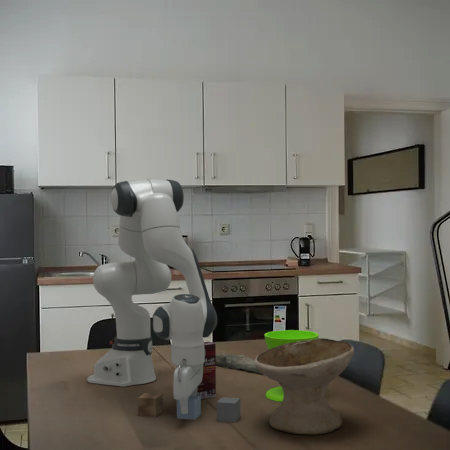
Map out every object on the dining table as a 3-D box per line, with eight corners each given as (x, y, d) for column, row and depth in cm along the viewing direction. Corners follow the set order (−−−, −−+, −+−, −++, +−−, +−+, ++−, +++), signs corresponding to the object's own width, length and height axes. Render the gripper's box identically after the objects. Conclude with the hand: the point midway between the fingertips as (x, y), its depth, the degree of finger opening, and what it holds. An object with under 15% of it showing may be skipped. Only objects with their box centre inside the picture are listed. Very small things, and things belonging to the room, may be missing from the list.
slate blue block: (177, 418, 176) (176, 399, 176) (183, 413, 181) (183, 395, 181) (195, 420, 175) (194, 400, 174) (200, 414, 179) (200, 396, 179)
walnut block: (138, 416, 179) (138, 397, 179) (145, 411, 184) (145, 392, 184) (155, 417, 178) (155, 398, 178) (162, 412, 182) (162, 393, 182)
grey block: (217, 421, 173) (216, 402, 173) (222, 416, 178) (222, 397, 178) (235, 422, 172) (235, 403, 171) (240, 417, 176) (240, 398, 176)
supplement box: (191, 401, 192) (190, 346, 192) (183, 397, 197) (182, 343, 197) (217, 397, 197) (216, 343, 197) (209, 393, 201) (208, 340, 201)
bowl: (258, 409, 183) (256, 336, 183) (350, 410, 181) (349, 336, 181) (252, 439, 158) (250, 355, 158) (360, 441, 155) (358, 355, 155)
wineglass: (258, 400, 193) (257, 337, 192) (273, 387, 208) (272, 329, 207) (313, 404, 187) (312, 340, 187) (324, 390, 202) (323, 331, 202)
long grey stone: (273, 383, 219) (292, 379, 226) (274, 367, 219) (293, 363, 226) (200, 363, 244) (220, 360, 251) (201, 348, 244) (220, 346, 251)
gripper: (191, 364, 167) (192, 419, 167) (206, 349, 187) (207, 398, 187) (166, 364, 168) (167, 419, 168) (184, 348, 188) (185, 397, 188)
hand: (188, 408), depth 178 cm, fingers open, 8 cm apart
